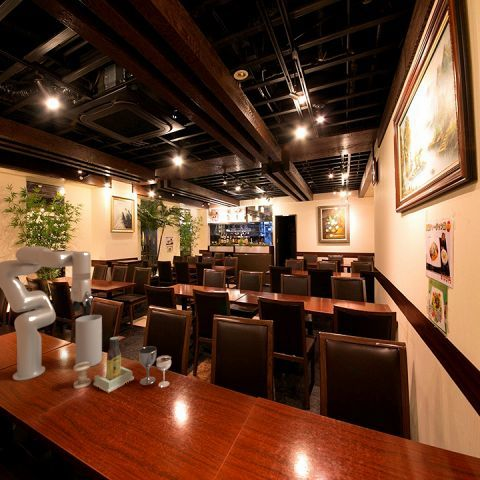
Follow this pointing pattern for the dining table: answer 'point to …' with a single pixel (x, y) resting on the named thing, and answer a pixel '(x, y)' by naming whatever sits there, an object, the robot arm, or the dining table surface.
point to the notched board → (115, 383)
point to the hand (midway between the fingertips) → (81, 312)
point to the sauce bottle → (113, 360)
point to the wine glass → (147, 362)
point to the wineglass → (163, 368)
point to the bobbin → (82, 375)
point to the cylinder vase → (89, 339)
